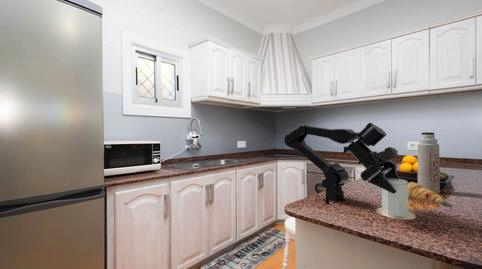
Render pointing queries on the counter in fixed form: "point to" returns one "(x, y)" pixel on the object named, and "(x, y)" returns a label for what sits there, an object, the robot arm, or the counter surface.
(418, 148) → the thermos bottle
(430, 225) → the counter surface
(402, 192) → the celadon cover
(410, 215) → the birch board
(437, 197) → the croissant
